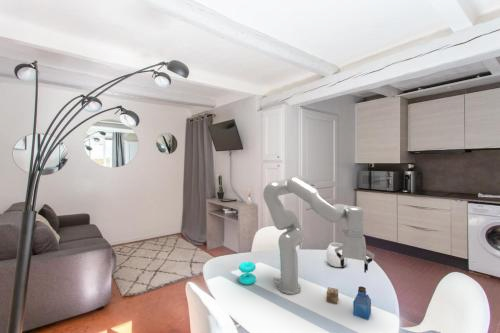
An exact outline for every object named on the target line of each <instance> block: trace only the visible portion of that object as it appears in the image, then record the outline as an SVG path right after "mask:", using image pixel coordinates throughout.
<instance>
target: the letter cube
mask: <svg viewBox="0 0 500 333" xmlns="http://www.w3.org/2000/svg"><path fill="white" fill-rule="evenodd" d="M326 302H327V303H332V304H335V305H338V303H339V288H332V287H328V286H327V289H326ZM337 302H338V303H337Z"/></svg>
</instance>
